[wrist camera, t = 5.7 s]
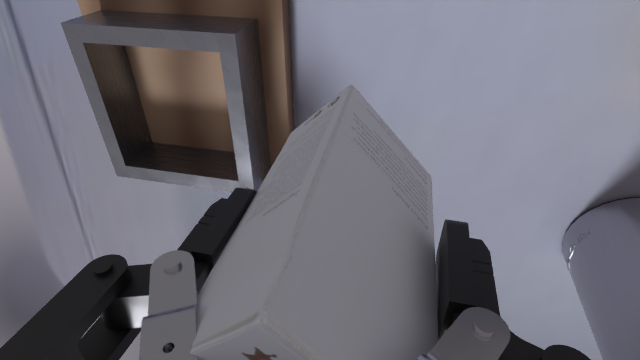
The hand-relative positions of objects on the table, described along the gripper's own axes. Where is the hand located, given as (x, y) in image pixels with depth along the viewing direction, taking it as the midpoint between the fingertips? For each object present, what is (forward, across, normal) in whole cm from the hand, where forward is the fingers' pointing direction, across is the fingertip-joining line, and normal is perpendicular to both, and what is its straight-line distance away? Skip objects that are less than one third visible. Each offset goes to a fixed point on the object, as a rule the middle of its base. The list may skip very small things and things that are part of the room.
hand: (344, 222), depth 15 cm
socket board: (+17, +15, +3) cm, 23 cm away
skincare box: (+5, 0, 0) cm, 5 cm away
